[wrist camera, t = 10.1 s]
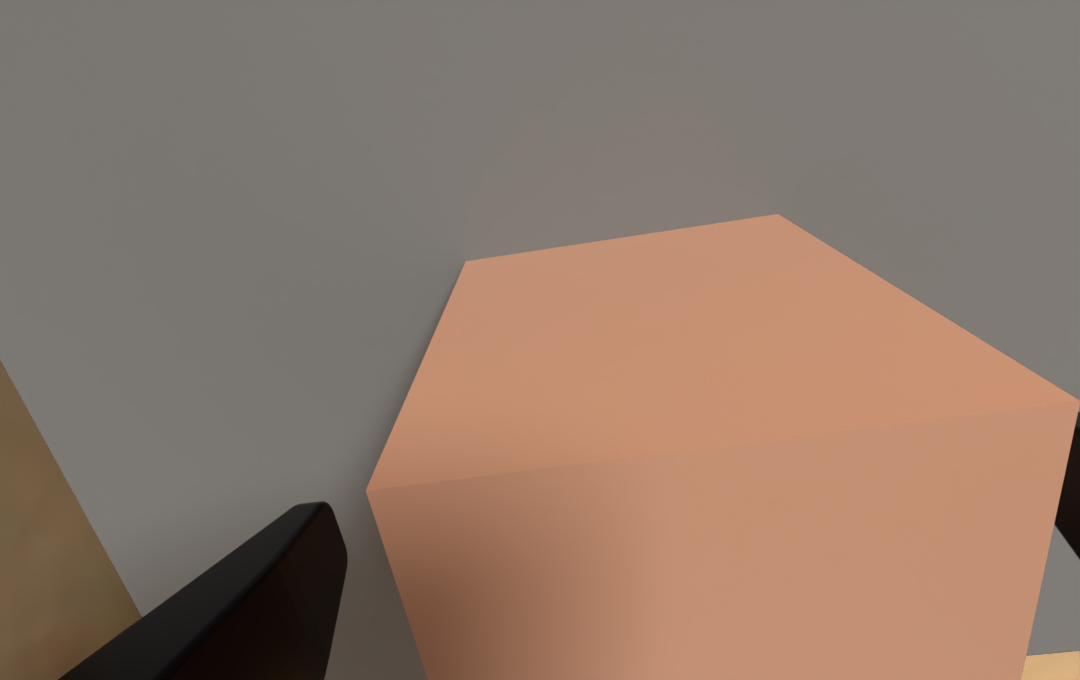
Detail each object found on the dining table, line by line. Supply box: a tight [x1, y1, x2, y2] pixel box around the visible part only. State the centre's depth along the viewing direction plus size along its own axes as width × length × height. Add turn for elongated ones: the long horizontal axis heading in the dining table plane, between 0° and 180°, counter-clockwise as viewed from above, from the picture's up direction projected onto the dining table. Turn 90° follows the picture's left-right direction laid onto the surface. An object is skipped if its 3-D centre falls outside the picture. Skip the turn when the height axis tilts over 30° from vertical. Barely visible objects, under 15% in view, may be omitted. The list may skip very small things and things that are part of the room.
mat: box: [0, 0, 1080, 680], centre depth 11 cm, size 22×16×1 cm
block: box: [366, 214, 1080, 680], centre depth 8 cm, size 5×5×6 cm
